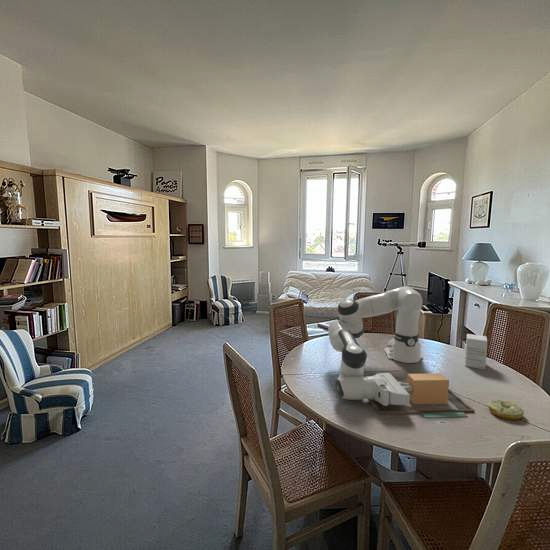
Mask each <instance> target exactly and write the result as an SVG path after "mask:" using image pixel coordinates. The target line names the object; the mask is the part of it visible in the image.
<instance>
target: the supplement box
mask: <svg viewBox="0 0 550 550" xmlns="http://www.w3.org/2000/svg"><path fill="white" fill-rule="evenodd" d="M465 342H466V343H465V357H464V359H465V360H464V362H465V363H464V366H465V367H469V368H474V369H481V370H486V367H487V366H486V365H487V352H488V338H487V336H486V335H479V334H478V335H477V334H473V333H472V334H471V333H466V341H465Z"/></svg>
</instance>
